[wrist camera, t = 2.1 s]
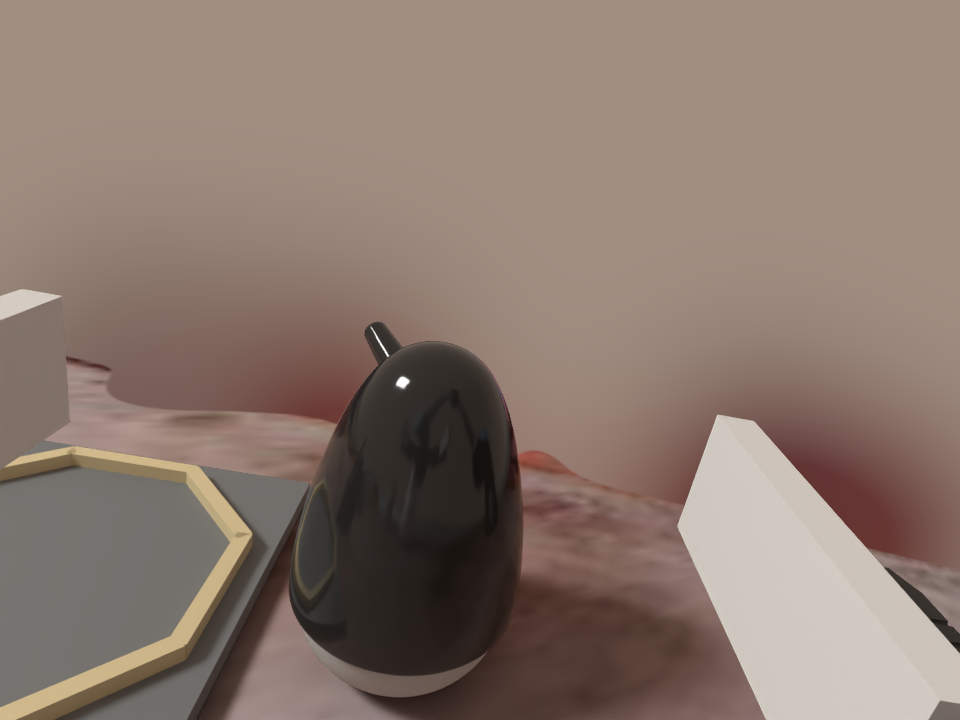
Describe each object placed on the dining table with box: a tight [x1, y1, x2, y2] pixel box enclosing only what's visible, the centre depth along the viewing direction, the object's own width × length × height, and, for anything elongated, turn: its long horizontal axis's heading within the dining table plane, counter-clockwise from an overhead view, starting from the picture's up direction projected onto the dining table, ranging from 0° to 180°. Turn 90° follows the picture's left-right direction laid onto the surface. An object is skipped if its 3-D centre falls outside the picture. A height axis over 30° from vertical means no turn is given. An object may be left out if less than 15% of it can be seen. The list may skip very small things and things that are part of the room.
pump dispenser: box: [289, 322, 523, 697], centre depth 27 cm, size 10×10×15 cm
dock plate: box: [0, 441, 310, 720], centre depth 28 cm, size 20×20×2 cm
